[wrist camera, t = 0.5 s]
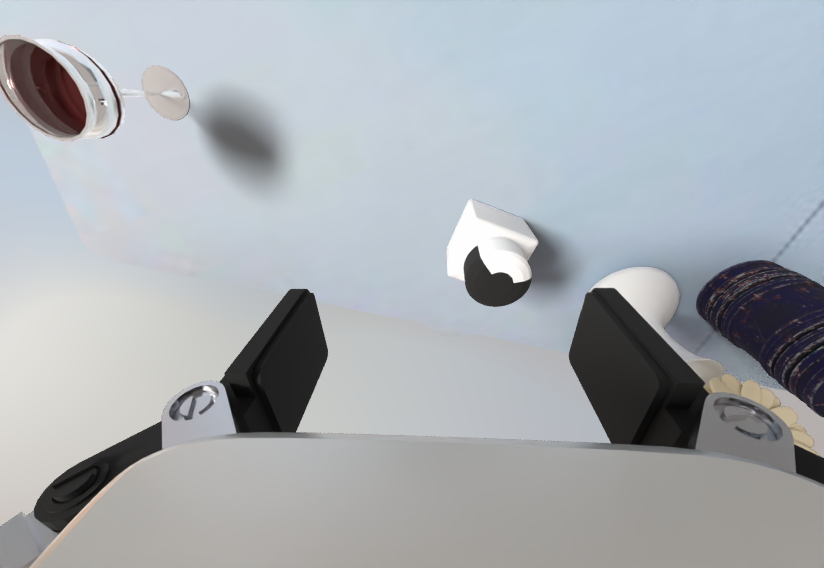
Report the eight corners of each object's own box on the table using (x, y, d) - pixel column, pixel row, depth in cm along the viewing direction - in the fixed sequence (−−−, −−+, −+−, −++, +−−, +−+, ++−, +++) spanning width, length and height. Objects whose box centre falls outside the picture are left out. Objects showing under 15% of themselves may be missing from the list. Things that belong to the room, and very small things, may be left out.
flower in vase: (690, 282, 39) (987, 501, 18) (623, 342, 45) (787, 562, 24) (607, 240, 37) (830, 430, 16) (548, 308, 43) (653, 515, 22)
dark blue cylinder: (776, 316, 41) (929, 415, 28) (691, 330, 43) (796, 428, 30) (797, 250, 36) (991, 333, 23) (700, 270, 38) (829, 355, 26)
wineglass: (161, 39, 30) (19, 10, 20) (211, 110, 33) (109, 115, 23) (119, 76, 32) (-30, 67, 22) (169, 140, 35) (59, 157, 25)
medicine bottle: (496, 267, 40) (515, 324, 30) (445, 249, 40) (447, 301, 29) (524, 218, 37) (556, 264, 27) (469, 197, 36) (480, 236, 26)
